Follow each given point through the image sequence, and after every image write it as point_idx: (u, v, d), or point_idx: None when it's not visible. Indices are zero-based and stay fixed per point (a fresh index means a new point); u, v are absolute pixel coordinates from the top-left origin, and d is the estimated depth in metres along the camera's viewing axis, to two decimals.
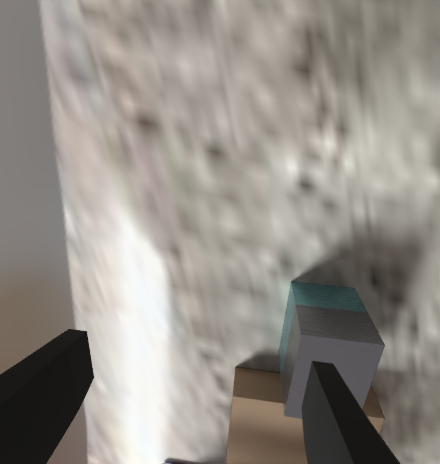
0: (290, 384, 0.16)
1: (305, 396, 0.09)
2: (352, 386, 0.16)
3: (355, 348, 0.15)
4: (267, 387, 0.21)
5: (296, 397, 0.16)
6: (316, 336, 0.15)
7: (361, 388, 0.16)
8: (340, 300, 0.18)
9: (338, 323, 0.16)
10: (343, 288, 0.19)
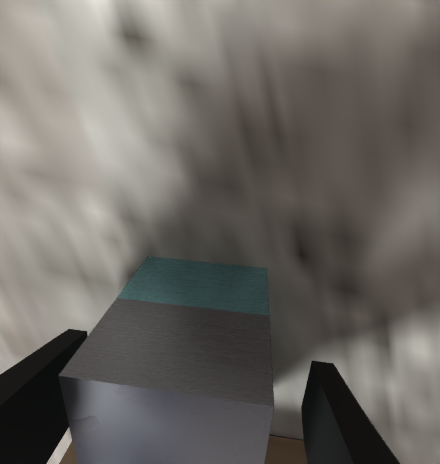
0: None
1: (305, 396, 0.09)
2: None
3: (201, 412, 0.05)
4: None
5: None
6: (97, 379, 0.05)
7: None
8: (223, 290, 0.08)
9: (183, 342, 0.06)
10: (243, 268, 0.10)
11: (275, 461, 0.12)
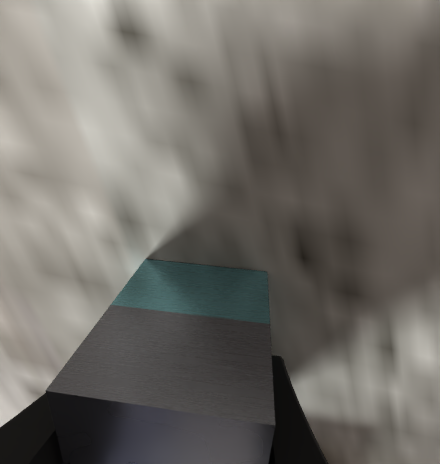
0: None
1: None
2: None
3: (198, 430, 0.05)
4: None
5: None
6: (87, 395, 0.05)
7: None
8: (223, 296, 0.08)
9: (180, 353, 0.06)
10: (243, 272, 0.09)
11: None
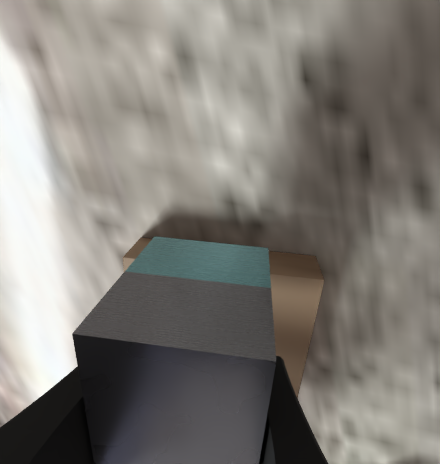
0: None
1: None
2: (222, 456, 0.07)
3: (207, 369, 0.06)
4: None
5: None
6: (110, 337, 0.06)
7: (241, 460, 0.07)
8: (227, 266, 0.09)
9: (190, 308, 0.07)
10: (246, 248, 0.10)
11: (284, 261, 0.16)
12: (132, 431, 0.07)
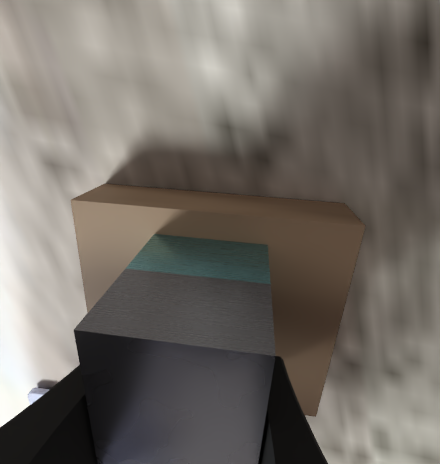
0: (96, 440, 0.07)
1: None
2: (222, 449, 0.07)
3: (207, 364, 0.06)
4: (147, 197, 0.11)
5: None
6: (110, 333, 0.06)
7: (241, 454, 0.07)
8: (227, 262, 0.09)
9: (190, 304, 0.07)
10: (246, 245, 0.10)
11: (302, 207, 0.11)
12: (133, 426, 0.07)
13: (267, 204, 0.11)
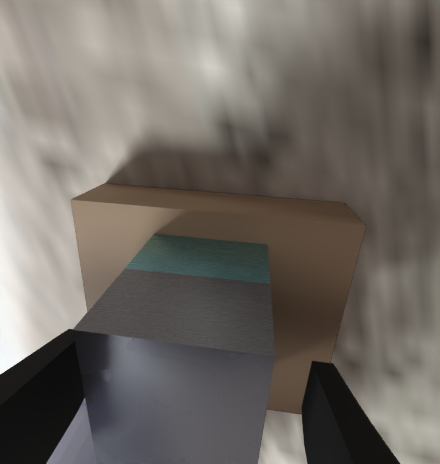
0: (95, 440, 0.07)
1: (305, 396, 0.09)
2: (222, 450, 0.07)
3: (207, 364, 0.06)
4: (147, 196, 0.11)
5: None
6: (109, 333, 0.06)
7: (241, 454, 0.07)
8: (226, 263, 0.09)
9: (189, 304, 0.07)
10: (245, 245, 0.10)
11: (303, 206, 0.11)
12: (132, 426, 0.07)
13: (267, 204, 0.11)
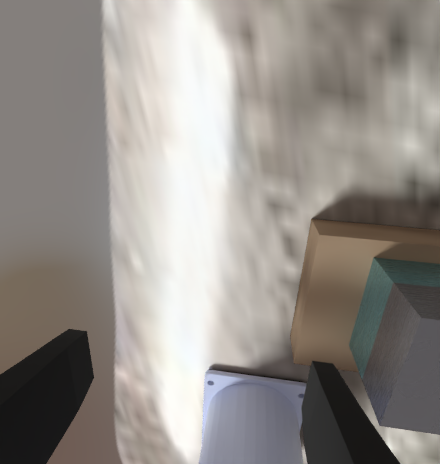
0: (394, 384, 0.12)
1: (305, 396, 0.09)
2: None
3: None
4: (359, 231, 0.16)
5: (400, 402, 0.13)
6: None
7: None
8: None
9: None
10: None
11: None
12: (428, 374, 0.12)
13: None
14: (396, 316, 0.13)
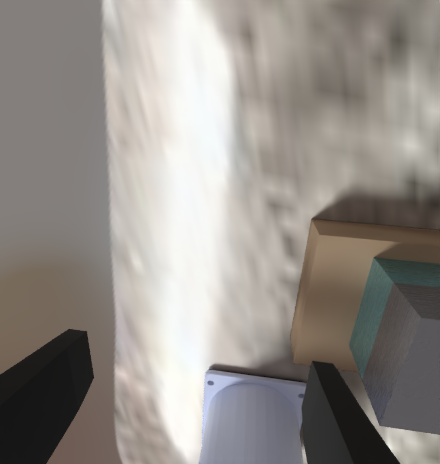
0: (394, 384, 0.12)
1: (305, 396, 0.09)
2: None
3: None
4: (359, 231, 0.16)
5: (400, 402, 0.13)
6: None
7: None
8: None
9: None
10: None
11: None
12: (428, 374, 0.12)
13: None
14: (396, 316, 0.13)
